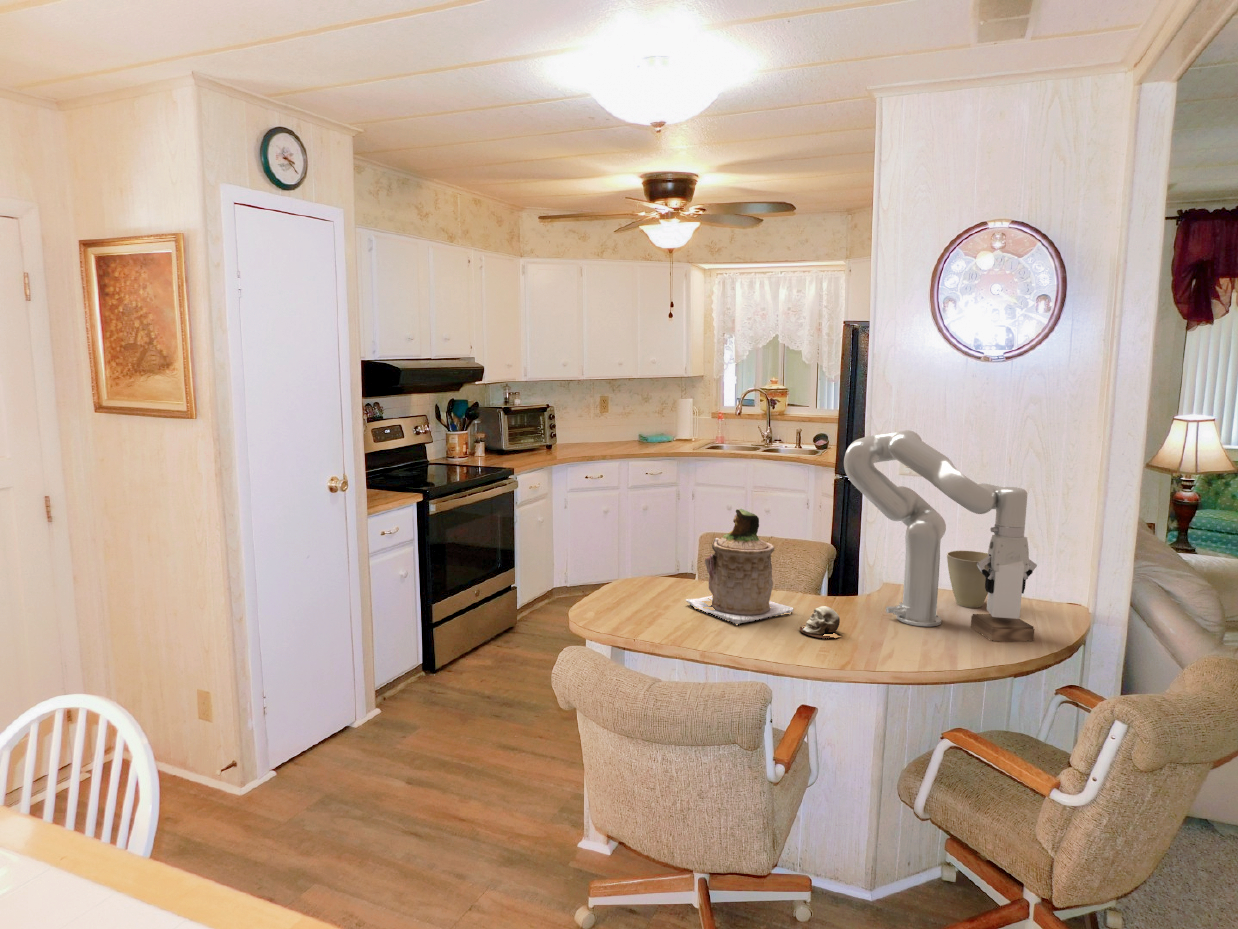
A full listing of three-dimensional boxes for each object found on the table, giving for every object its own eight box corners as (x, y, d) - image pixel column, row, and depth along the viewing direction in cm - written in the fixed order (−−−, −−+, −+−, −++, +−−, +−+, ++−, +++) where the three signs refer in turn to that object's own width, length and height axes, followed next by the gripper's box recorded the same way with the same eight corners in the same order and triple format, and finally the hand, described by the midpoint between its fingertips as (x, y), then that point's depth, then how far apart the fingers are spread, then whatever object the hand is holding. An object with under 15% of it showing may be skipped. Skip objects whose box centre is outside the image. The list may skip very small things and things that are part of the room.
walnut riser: (991, 641, 228) (992, 627, 228) (970, 627, 240) (971, 613, 240) (1033, 641, 229) (1034, 627, 228) (1010, 627, 241) (1011, 613, 240)
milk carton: (1019, 619, 230) (1025, 552, 227) (992, 617, 231) (997, 551, 228) (1012, 612, 236) (1018, 547, 234) (986, 610, 238) (991, 545, 235)
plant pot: (969, 596, 272) (973, 548, 270) (1004, 609, 258) (1009, 559, 256) (933, 600, 267) (936, 551, 265) (967, 613, 253) (971, 562, 251)
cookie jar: (796, 614, 250) (801, 510, 245) (736, 628, 236) (740, 518, 232) (741, 594, 270) (744, 497, 266) (682, 605, 256) (685, 504, 252)
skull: (812, 639, 224) (802, 604, 230) (800, 653, 233) (790, 620, 238) (853, 635, 227) (841, 601, 233) (839, 649, 235) (828, 616, 241)
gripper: (985, 534, 226) (981, 596, 229) (1047, 534, 227) (1041, 596, 230) (972, 528, 234) (968, 588, 236) (1032, 528, 235) (1027, 588, 237)
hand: (1004, 592), depth 233 cm, fingers closed on milk carton, 8 cm apart
